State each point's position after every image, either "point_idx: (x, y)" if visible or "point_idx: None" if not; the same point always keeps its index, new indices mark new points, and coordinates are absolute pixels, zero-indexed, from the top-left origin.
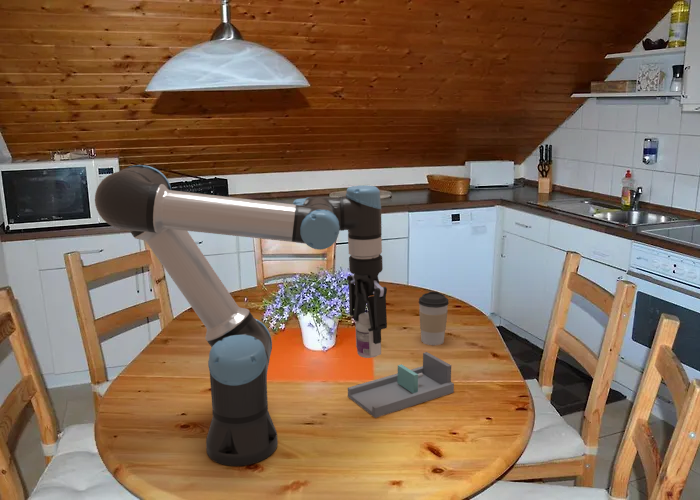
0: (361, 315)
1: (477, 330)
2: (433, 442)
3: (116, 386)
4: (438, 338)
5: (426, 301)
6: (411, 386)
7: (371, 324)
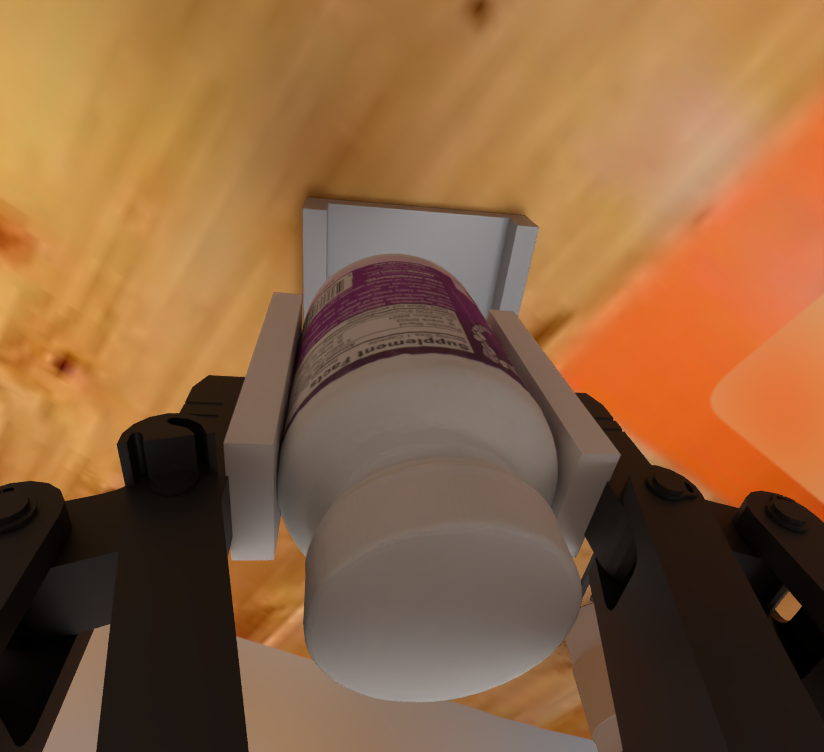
0: (509, 572)
1: (545, 705)
2: (21, 266)
3: None
4: (571, 639)
5: None
6: None
7: (176, 523)
